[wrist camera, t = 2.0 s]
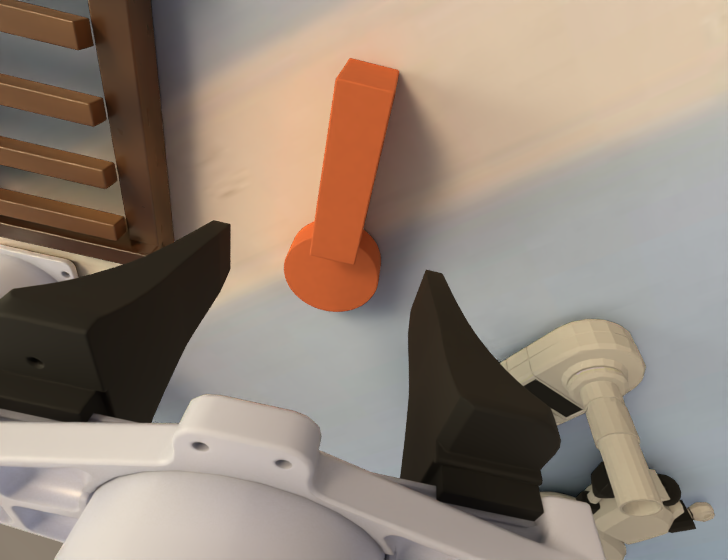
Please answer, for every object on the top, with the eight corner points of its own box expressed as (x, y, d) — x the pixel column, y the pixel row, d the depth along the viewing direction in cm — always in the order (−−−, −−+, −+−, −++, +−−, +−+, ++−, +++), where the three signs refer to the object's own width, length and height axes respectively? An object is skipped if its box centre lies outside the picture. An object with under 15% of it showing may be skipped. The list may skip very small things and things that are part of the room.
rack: (174, 243, 25) (151, 271, 23) (-48, 192, 25) (-94, 216, 22) (139, -122, 15) (91, -134, 13) (-235, -219, 15) (-351, -249, 12)
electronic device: (415, 548, 25) (664, 465, 17) (419, 406, 33) (592, 297, 24) (480, 575, 27) (738, 513, 18) (469, 434, 34) (648, 342, 26)
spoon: (314, 48, 18) (294, 67, 15) (433, 78, 18) (435, 102, 15) (287, 281, 26) (271, 322, 23) (370, 300, 26) (364, 343, 23)
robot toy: (606, 418, 32) (468, 498, 39) (634, 475, 28) (476, 552, 35) (704, 478, 35) (560, 542, 43) (740, 536, 31) (575, 594, 39)
